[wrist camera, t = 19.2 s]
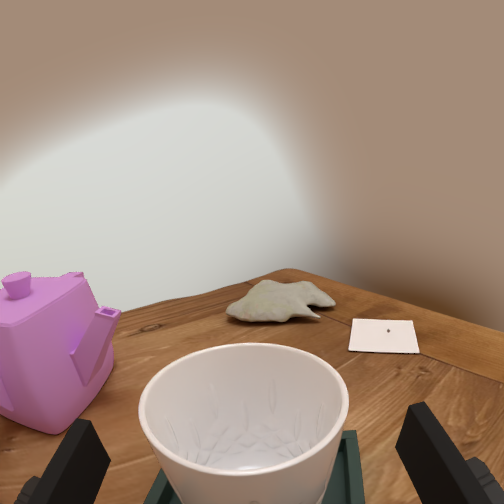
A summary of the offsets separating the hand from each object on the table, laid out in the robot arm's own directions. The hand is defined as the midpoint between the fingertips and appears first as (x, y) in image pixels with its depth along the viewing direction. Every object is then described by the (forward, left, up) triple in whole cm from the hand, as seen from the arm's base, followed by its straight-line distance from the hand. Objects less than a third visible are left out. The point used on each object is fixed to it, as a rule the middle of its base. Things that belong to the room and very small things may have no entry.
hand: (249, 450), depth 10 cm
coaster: (+24, -12, -8) cm, 28 cm away
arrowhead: (+32, +1, -8) cm, 33 cm away
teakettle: (+9, +22, -8) cm, 25 cm away
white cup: (+1, 0, -8) cm, 8 cm away
